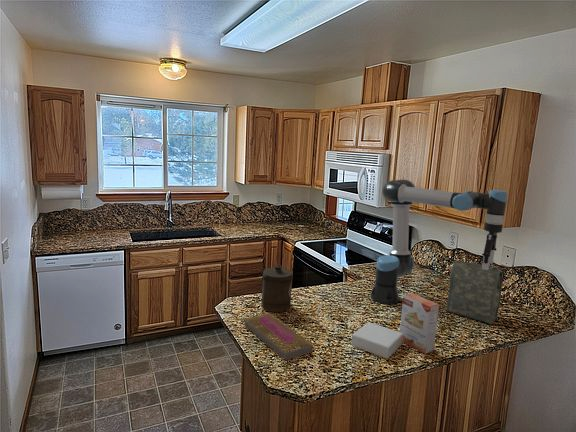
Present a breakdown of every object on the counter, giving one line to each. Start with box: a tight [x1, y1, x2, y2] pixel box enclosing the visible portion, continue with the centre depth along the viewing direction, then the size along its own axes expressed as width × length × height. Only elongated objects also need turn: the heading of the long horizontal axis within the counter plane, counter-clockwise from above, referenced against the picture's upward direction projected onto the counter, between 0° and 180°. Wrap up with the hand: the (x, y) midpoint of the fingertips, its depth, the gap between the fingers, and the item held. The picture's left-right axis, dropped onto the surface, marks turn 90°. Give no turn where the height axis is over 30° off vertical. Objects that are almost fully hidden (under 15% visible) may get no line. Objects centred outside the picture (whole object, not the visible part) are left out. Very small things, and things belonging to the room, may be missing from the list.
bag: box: [445, 259, 504, 325], centre depth 199 cm, size 22×16×27 cm
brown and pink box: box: [243, 311, 316, 361], centre depth 167 cm, size 35×14×6 cm, turn 34°
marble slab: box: [350, 322, 404, 359], centre depth 166 cm, size 16×16×5 cm
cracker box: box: [399, 292, 440, 355], centre depth 164 cm, size 14×6×21 cm, turn 33°
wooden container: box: [261, 263, 293, 313], centre depth 198 cm, size 15×15×22 cm
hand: (487, 266), depth 189 cm, fingers open, 13 cm apart
